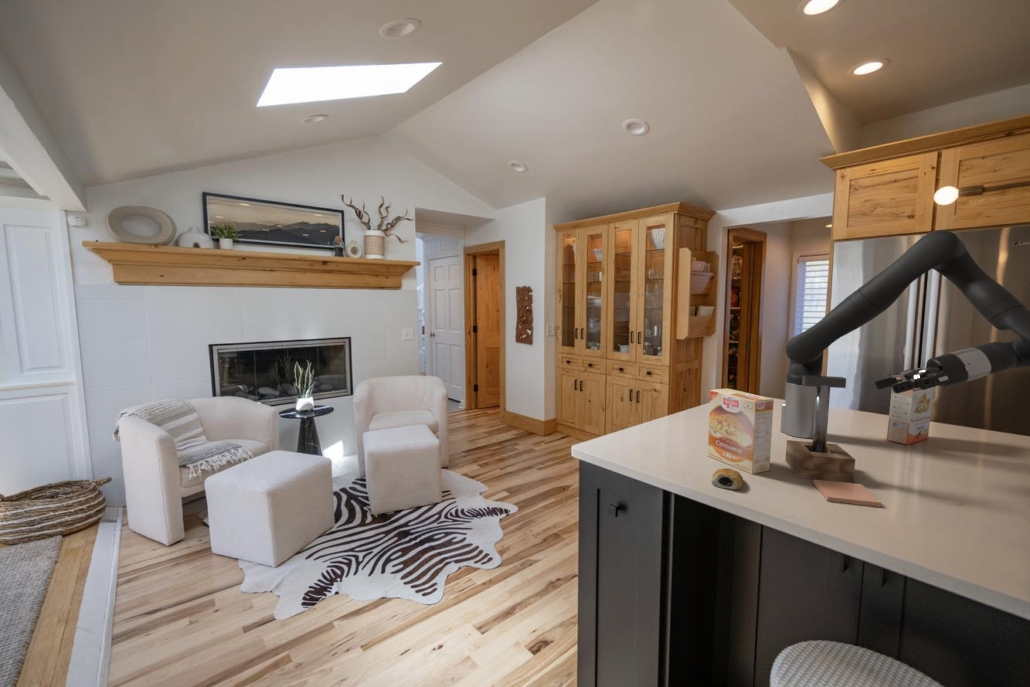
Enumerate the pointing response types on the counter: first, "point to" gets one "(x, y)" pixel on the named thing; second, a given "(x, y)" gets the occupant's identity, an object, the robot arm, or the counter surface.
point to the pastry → (727, 479)
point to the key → (822, 406)
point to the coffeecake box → (740, 429)
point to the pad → (846, 493)
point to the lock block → (820, 462)
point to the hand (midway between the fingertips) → (884, 387)
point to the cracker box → (909, 415)
